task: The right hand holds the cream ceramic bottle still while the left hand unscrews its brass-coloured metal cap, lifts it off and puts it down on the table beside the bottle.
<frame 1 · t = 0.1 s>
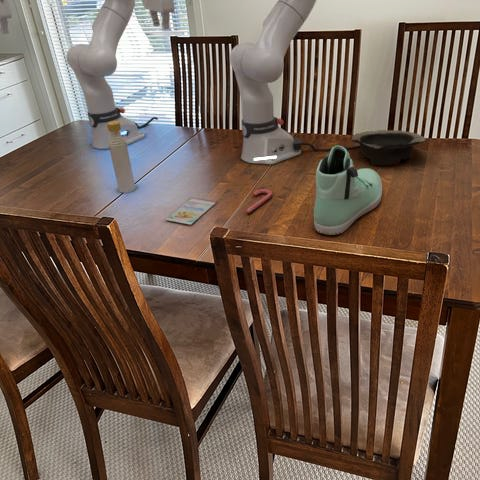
left hand: (0, 32, 160), 48 cm above the table, tool pointing down, fingers open, 8 cm apart
right hand: (161, 27, 143), 48 cm above the table, tool pointing down, fingers open, 8 cm apart
cap: (113, 123, 150), point 23 cm above the table, screwed on, not yet turned
baking ingredient package: (191, 212, 144), on the table
sneaker: (348, 208, 139), on the table
stone bowl: (385, 156, 170), on the table
candy cane: (256, 203, 146), on the table
bottle: (127, 189, 161), on the table
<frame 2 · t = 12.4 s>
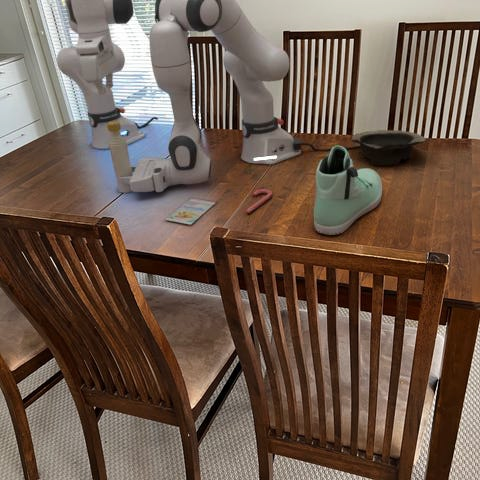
left hand: (106, 90, 144), 33 cm above the table, tool pointing down, fingers open, 6 cm apart
right hand: (121, 175, 159), 5 cm above the table, tool horizontal, fingers closed on bottle, 5 cm apart
bottle: (127, 189, 161), on the table, touching right hand
everything else where it was.
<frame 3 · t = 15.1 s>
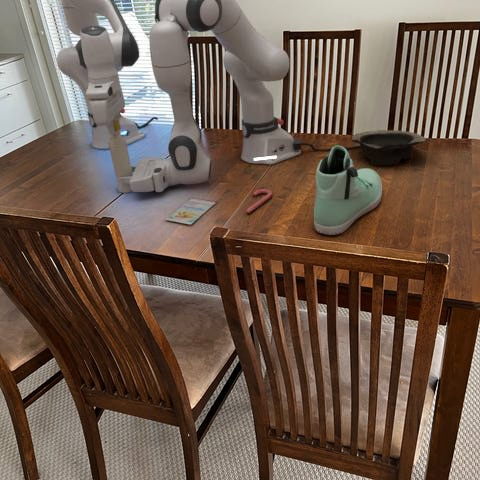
left hand: (114, 130, 151), 20 cm above the table, tool pointing down, fingers closed on cap, 3 cm apart
right hand: (121, 175, 159), 5 cm above the table, tool horizontal, fingers closed on bottle, 5 cm apart
cap: (113, 123, 150), point 23 cm above the table, screwed on, not yet turned, touching left hand
bottle: (127, 189, 161), on the table, touching right hand
everything else where it was.
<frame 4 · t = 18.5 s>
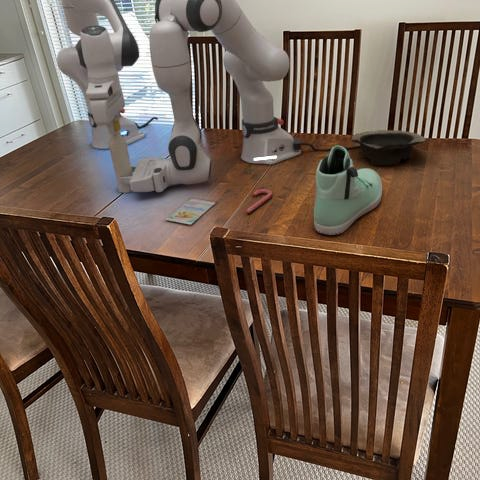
left hand: (114, 130, 151), 20 cm above the table, tool pointing down, fingers closed on cap, 3 cm apart
right hand: (121, 175, 159), 5 cm above the table, tool horizontal, fingers closed on bottle, 5 cm apart
cap: (113, 123, 150), point 23 cm above the table, turned 98° so far, risen 0.1 cm, still on its thread, touching left hand
bottle: (127, 189, 161), on the table, touching right hand
everything else where it was.
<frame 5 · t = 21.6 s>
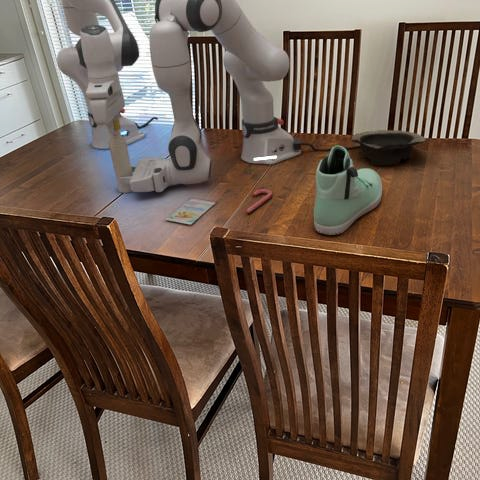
left hand: (114, 130, 151), 21 cm above the table, tool pointing down, fingers closed on cap, 3 cm apart
right hand: (121, 175, 159), 5 cm above the table, tool horizontal, fingers closed on bottle, 5 cm apart
cap: (113, 123, 150), point 23 cm above the table, turned 195° so far, risen 0.2 cm, still on its thread, touching left hand
bottle: (127, 189, 161), on the table, touching right hand
everything else where it was.
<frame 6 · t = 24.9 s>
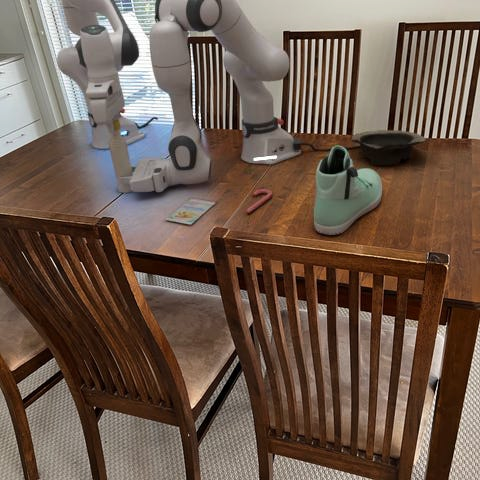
left hand: (114, 129, 151), 21 cm above the table, tool pointing down, fingers closed on cap, 3 cm apart
right hand: (121, 175, 159), 5 cm above the table, tool horizontal, fingers closed on bottle, 5 cm apart
cap: (113, 122, 149), point 23 cm above the table, turned 293° so far, risen 0.3 cm, still on its thread, touching left hand
bottle: (127, 189, 161), on the table, touching right hand
everything else where it was.
when the left hand's fingers open (2 cm above the table, at t = 31.8 s): cap drops 2 cm, point 2 cm above the table.
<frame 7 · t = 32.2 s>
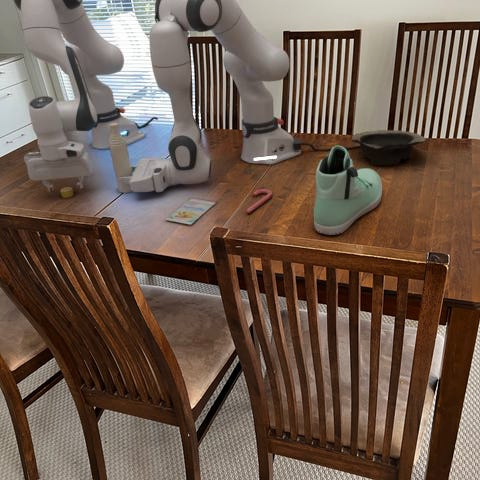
left hand: (66, 189, 159), 2 cm above the table, tool pointing down, fingers open, 8 cm apart
right hand: (121, 175, 159), 5 cm above the table, tool horizontal, fingers closed on bottle, 5 cm apart
cap: (66, 190, 159), point 2 cm above the table, off its thread
bottle: (127, 189, 161), on the table, touching right hand
everything else where it was.
when the right hand's fingers open (5 cm above the table, at t = 33.0 s): bottle stays where it is, on the table.
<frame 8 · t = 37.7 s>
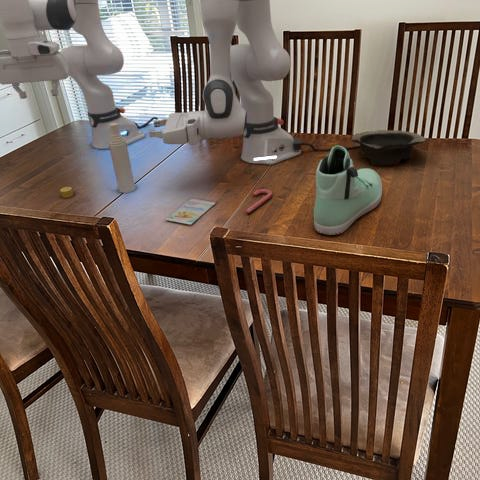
left hand: (39, 96, 143), 33 cm above the table, tool pointing down, fingers open, 8 cm apart
right hand: (151, 128, 151), 20 cm above the table, tool horizontal, fingers open, 8 cm apart
bottle: (127, 189, 161), on the table
everything else where it was.
at the end: cap came off its thread; cap point 2.0 cm above the table; the left hand is holding nothing; the right hand is holding nothing; bottle tilted 0°; bottle moved 0.0 cm from its start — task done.
